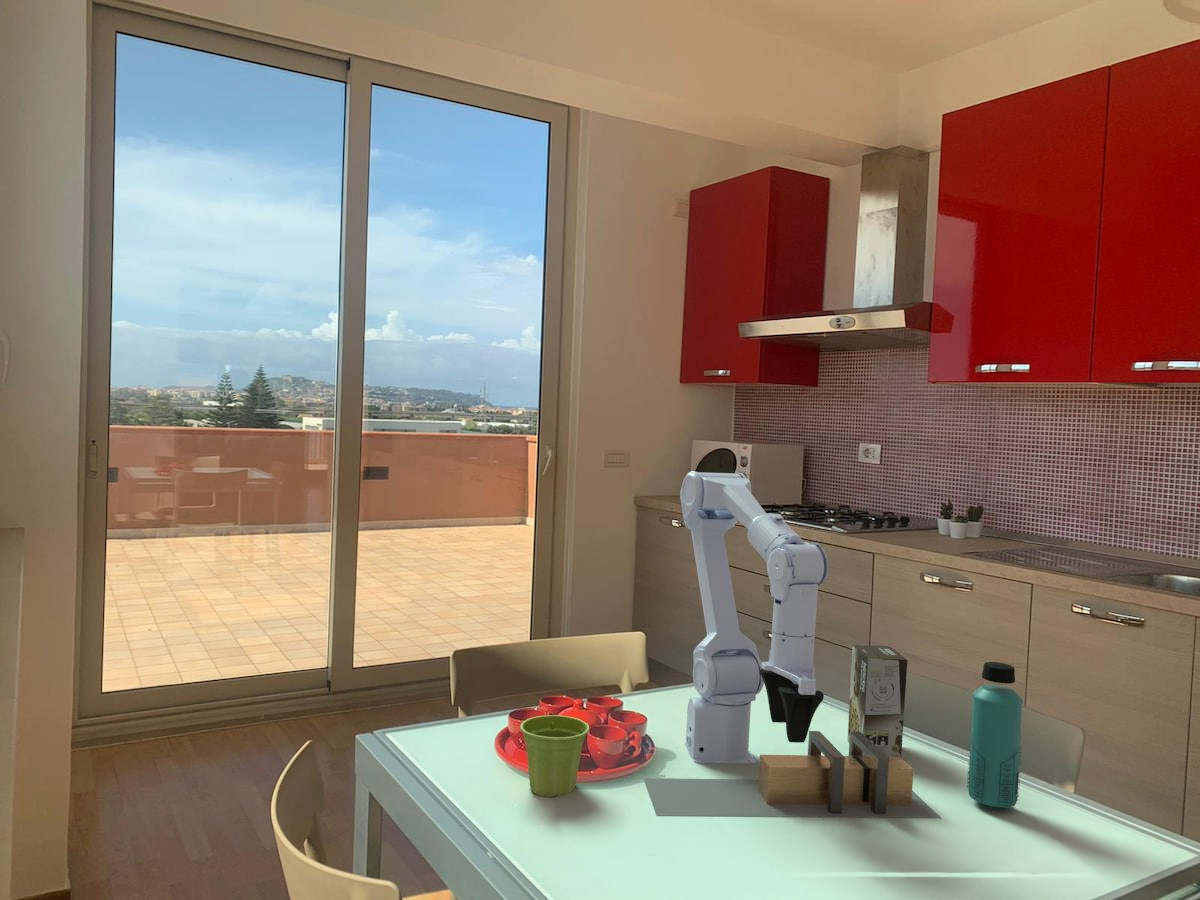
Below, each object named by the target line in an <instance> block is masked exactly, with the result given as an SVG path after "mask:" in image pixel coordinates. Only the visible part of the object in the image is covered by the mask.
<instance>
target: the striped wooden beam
mask: <svg viewBox="0 0 1200 900" xmlns="http://www.w3.org/2000/svg"><path fill="white" fill-rule="evenodd" d="M843 756H844V757H845V764H844V782H843V799H842V805H871V803H872V786H873V769H874V761H873V760H872V759H870V758H869V757H868V756H849V755H843ZM758 766H759V768H758V780H759V781H758V791H759V793H760V794H761V796H762V797H763V799H764V800H765V802H766V803H767V804H790V805H828V790H829V773H830V760H829V759H828V758H827V757H826V756H825V755H821V756H816V755H808V754H807V755H806V754H805V755H804V754H803V755H802V754H800V755H799V754H760V755H759V765H758ZM913 781H914V768H913V767H912V766H910V765H909V764H908V763H907V762H906V761H905V760H904V759H902V757H901V758H900V757H889V767H888V783H887V800H886V805H887V806H911V802H912V791H913Z"/></svg>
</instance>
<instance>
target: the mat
mask: <svg viewBox="0 0 1200 900" xmlns="http://www.w3.org/2000/svg"><path fill="white" fill-rule="evenodd" d="M643 781H644V784H645V787H646V790H647V792H648V793H647V794H648V795H649V798H650V801H651V804H652V807H653V810H654V813H655V816H656V817H711V818H712V817H724V818H725V817H727V818H728V817H731V818H733V817H735V818H736V817H737V818H738V817H739V818H742V817H743V818H826V819H827V818H833V819H834V818H836V819H837V818H840V819H841V818H843V819H845V818H847V819H848V818H849V819H850V818H851V819H852V818H853V819H854V818H855V819H856V818H857V819H861V818H862V819H943V818H942V816H940V815H939V814H938V813H937V812H936V811H935V810H934V809H933V808H932V807H931V806H930V805H929V804H928V803H926V802H925V801H924V800H923V799H922V798H921V796H919V795H918V794H917V793H916V792H915V791H914V790H912V802H911V806H887V805H886V814H874V813H873V812H872V811H871V805H842V814H830V812H829V811H828V810H827V807H828V805H790V804H767V803H766V802H765V800H764V799H763V797H762V796H761V794H760V793H759V791H758V781H759V779H754V778H753V779H750V778H749V779H747V778H742V779H741V778H740V779H738V778H737V779H735V778H734V779H733V778H672V777H671V778H668V777H667V778H661V777H660V778H659V777H658V778H656V777H655V778H654V777H643Z"/></svg>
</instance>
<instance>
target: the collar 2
mask: <svg viewBox="0 0 1200 900" xmlns="http://www.w3.org/2000/svg"><path fill="white" fill-rule="evenodd" d="M848 743H849V744H848V745H849V746H848V756H862V751H863V752H864V753H865V754H866V755H867V756H868V757H869V758H870V759H872V760H873V761H874V769H873V786H872V803H871V811H872V812H873V813H874V814H886V800H887V783H888V767H889V757H887V756H886V755H885V754H884V753H883V752H882V751H881V750H880V749H879V748H877V747H876V746H875V745H874V744H873V743H872V742H871V741H870V740H869V739H868V738H866V737H865V736H864V735H863V734H862V733H861V732H850V741H849V742H848Z"/></svg>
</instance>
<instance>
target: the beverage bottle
mask: <svg viewBox="0 0 1200 900" xmlns="http://www.w3.org/2000/svg"><path fill="white" fill-rule="evenodd" d="M1015 674H1016V671H1015V667H1014V666H1013V665H1011V664H1008V663H1005V662H998V661H986V662H984V663H983V669H982V673H981V678H982V679H983V680H986V681H989V682H991V683H992V682H993V683H997V684H1006V685H1007V684H1014V683H1015V682H1016V677H1015V676H1016V675H1015ZM997 684H983V685H982V686H979V687H978V688H977V689H975V690H974V691H973V693H972V715H971V728H970V739H969V746H968V748H969V756H968V757H969V761H968V762H967V765H968V771H967V774H968V777H967V784H966V785H967V786H966V787H967V792H968V795H969V798H971V799H973V800H974V801H976V802H977V803H981V804H983V805H986V806H989V807H996V808H1011V807H1014V806H1016V805H1017V802H1018V799H1019V797H1020V796H1019V790H1020V787H1019V786H1020V783H1021V781H1020V780H1021V779H1020V774H1021V771H1020V767H1021V763H1022V762H1021V761H1022V760H1021V758H1022V751H1021V749H1022V748H1021V747H1022V743H1021V739H1022V734H1021V732H1022V711H1023V699H1022V698H1021V696H1020V695H1019V694H1018V692H1016V691H1015V690H1014V689H1013V688H1010V687H1007V686H1002V685H997Z"/></svg>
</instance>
